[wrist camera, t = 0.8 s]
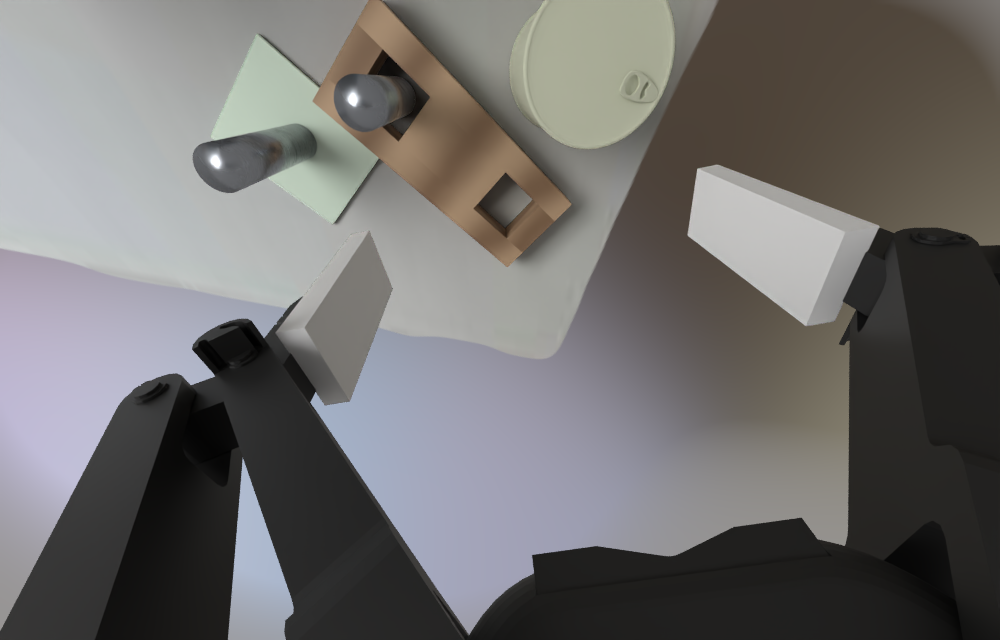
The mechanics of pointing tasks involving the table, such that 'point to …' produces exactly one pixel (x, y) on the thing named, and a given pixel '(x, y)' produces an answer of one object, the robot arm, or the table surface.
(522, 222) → the socket block
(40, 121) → the table surface
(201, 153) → the pin
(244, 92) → the mat
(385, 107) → the pin
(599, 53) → the can
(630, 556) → the robot arm
